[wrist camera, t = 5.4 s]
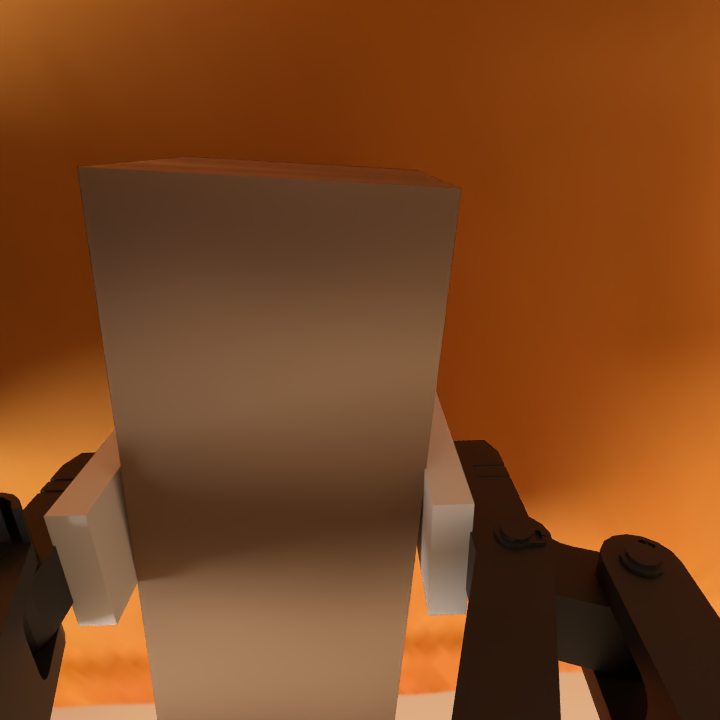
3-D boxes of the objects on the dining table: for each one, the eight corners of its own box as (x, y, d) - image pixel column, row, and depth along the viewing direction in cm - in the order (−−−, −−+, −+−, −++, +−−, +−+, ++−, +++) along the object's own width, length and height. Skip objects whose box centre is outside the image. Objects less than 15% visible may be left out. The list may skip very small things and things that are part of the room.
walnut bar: (379, 571, 19) (391, 745, 14) (215, 567, 19) (160, 742, 13) (416, 169, 14) (461, 188, 8) (187, 156, 14) (76, 166, 8)
